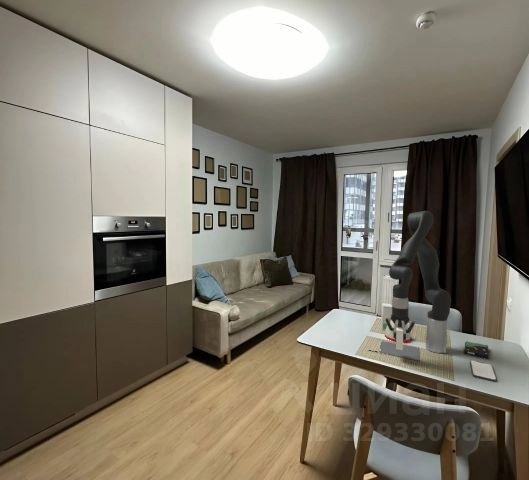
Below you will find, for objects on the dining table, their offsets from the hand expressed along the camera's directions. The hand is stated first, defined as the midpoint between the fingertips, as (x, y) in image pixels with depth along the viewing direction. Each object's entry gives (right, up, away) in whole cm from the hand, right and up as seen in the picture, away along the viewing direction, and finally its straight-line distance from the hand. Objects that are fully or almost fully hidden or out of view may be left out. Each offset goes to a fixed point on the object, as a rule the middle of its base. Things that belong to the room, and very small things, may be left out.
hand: (399, 339), depth 146 cm
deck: (0, -3, 0) cm, 3 cm away
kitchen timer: (+11, -8, +26) cm, 29 cm away
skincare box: (+11, -7, +40) cm, 42 cm away
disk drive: (+45, -10, +9) cm, 47 cm away
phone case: (+33, -11, -12) cm, 37 cm away
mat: (+2, -9, +10) cm, 14 cm away
